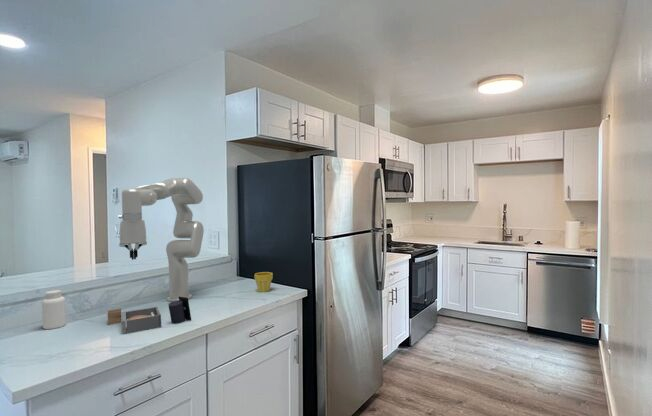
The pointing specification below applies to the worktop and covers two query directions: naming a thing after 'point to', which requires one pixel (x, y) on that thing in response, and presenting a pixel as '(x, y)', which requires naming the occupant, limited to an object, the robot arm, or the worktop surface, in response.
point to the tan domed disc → (138, 317)
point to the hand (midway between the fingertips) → (133, 259)
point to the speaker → (179, 310)
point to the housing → (143, 320)
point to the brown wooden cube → (114, 316)
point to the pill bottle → (53, 310)
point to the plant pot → (263, 281)
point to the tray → (127, 319)
